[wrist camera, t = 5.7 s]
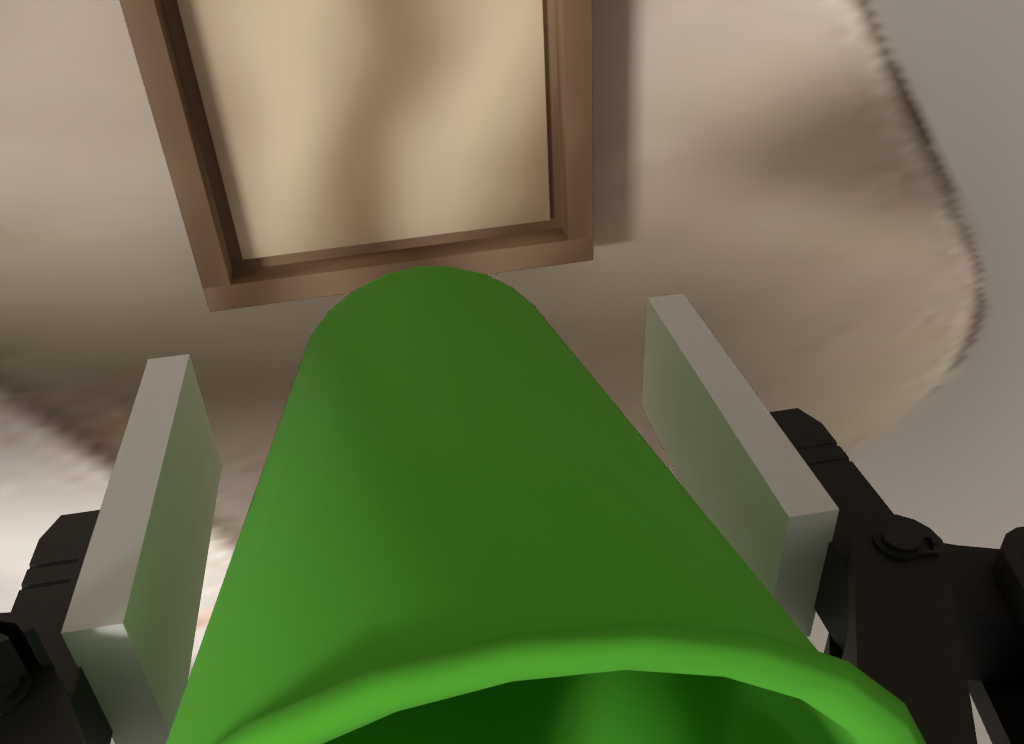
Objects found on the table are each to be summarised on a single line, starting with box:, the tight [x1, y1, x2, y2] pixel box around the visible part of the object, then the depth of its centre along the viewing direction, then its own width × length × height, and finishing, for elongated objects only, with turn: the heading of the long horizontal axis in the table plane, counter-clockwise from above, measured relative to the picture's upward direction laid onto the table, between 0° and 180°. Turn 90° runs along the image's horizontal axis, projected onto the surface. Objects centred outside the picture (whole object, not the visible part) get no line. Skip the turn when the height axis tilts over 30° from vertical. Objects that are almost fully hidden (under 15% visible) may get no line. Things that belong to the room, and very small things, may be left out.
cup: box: [166, 266, 926, 744], centre depth 14 cm, size 9×9×11 cm
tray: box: [120, 0, 593, 312], centre depth 30 cm, size 15×15×2 cm
